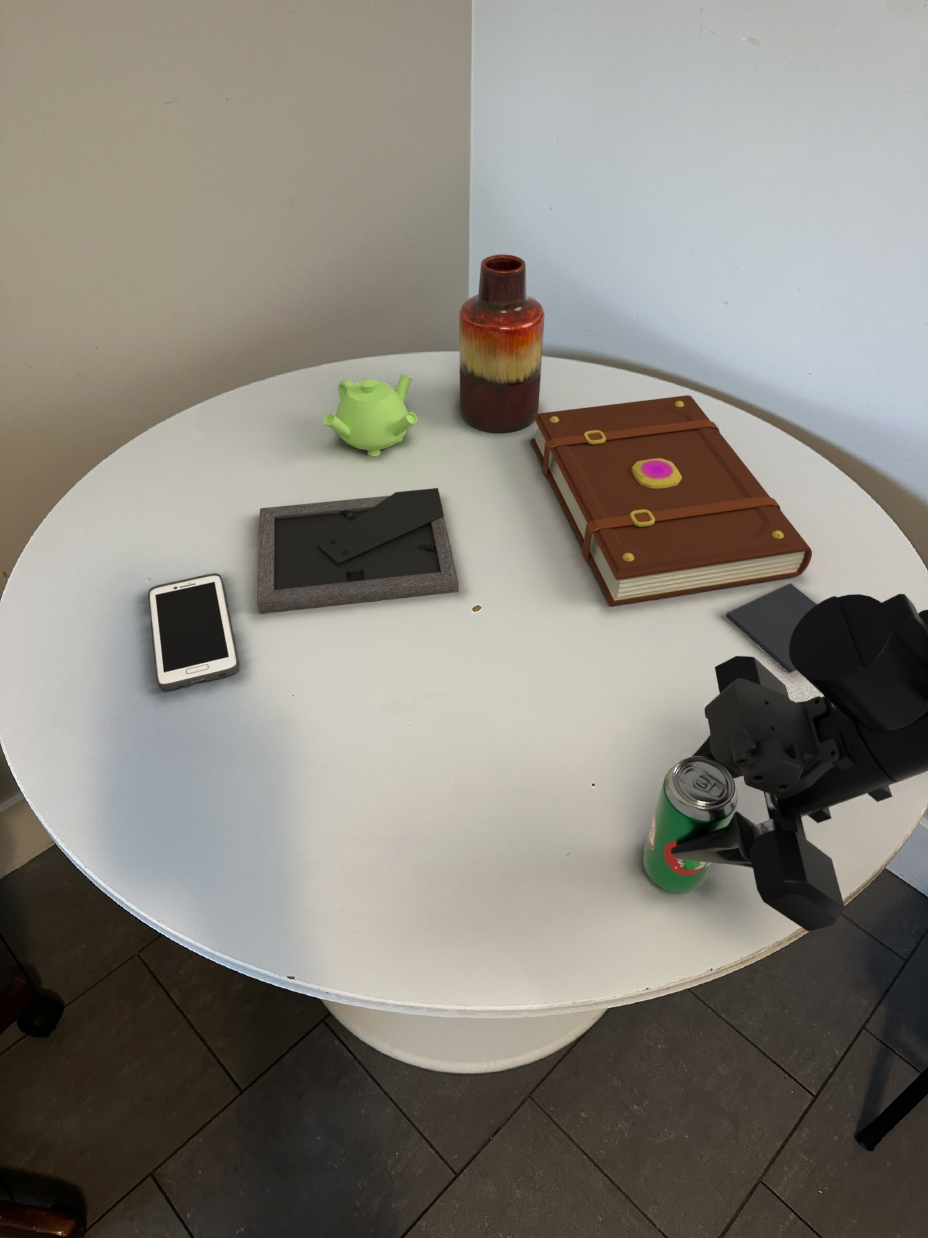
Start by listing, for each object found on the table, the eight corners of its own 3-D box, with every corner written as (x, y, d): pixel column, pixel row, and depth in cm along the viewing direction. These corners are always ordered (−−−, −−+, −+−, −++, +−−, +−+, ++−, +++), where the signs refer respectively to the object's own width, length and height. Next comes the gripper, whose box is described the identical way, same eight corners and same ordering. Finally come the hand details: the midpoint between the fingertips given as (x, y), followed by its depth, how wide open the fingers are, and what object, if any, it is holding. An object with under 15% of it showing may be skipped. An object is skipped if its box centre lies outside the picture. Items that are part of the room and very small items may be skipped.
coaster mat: (789, 586, 88) (790, 582, 87) (855, 639, 82) (856, 635, 82) (726, 616, 85) (727, 612, 84) (790, 673, 79) (791, 669, 79)
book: (607, 607, 86) (613, 572, 82) (528, 442, 107) (530, 409, 104) (806, 576, 89) (820, 540, 85) (690, 422, 111) (697, 388, 107)
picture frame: (438, 501, 99) (262, 518, 96) (438, 487, 97) (259, 505, 95) (458, 591, 88) (259, 613, 85) (458, 577, 86) (256, 600, 84)
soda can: (663, 826, 67) (689, 739, 59) (718, 863, 65) (754, 778, 56) (629, 869, 64) (651, 785, 56) (686, 909, 62) (718, 828, 54)
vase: (554, 414, 112) (567, 264, 98) (494, 442, 107) (498, 289, 93) (502, 383, 118) (507, 238, 103) (444, 408, 113) (440, 260, 99)
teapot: (333, 418, 112) (326, 361, 106) (417, 415, 112) (414, 358, 106) (329, 465, 104) (320, 407, 98) (419, 462, 104) (416, 403, 98)
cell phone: (159, 694, 78) (156, 687, 77) (149, 593, 87) (146, 586, 87) (241, 674, 79) (239, 667, 79) (222, 577, 89) (220, 570, 88)
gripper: (777, 569, 54) (594, 671, 63) (849, 817, 41) (606, 903, 50) (859, 653, 59) (680, 737, 68) (947, 897, 46) (711, 963, 55)
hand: (669, 821), depth 60 cm, fingers closed on soda can, 5 cm apart
